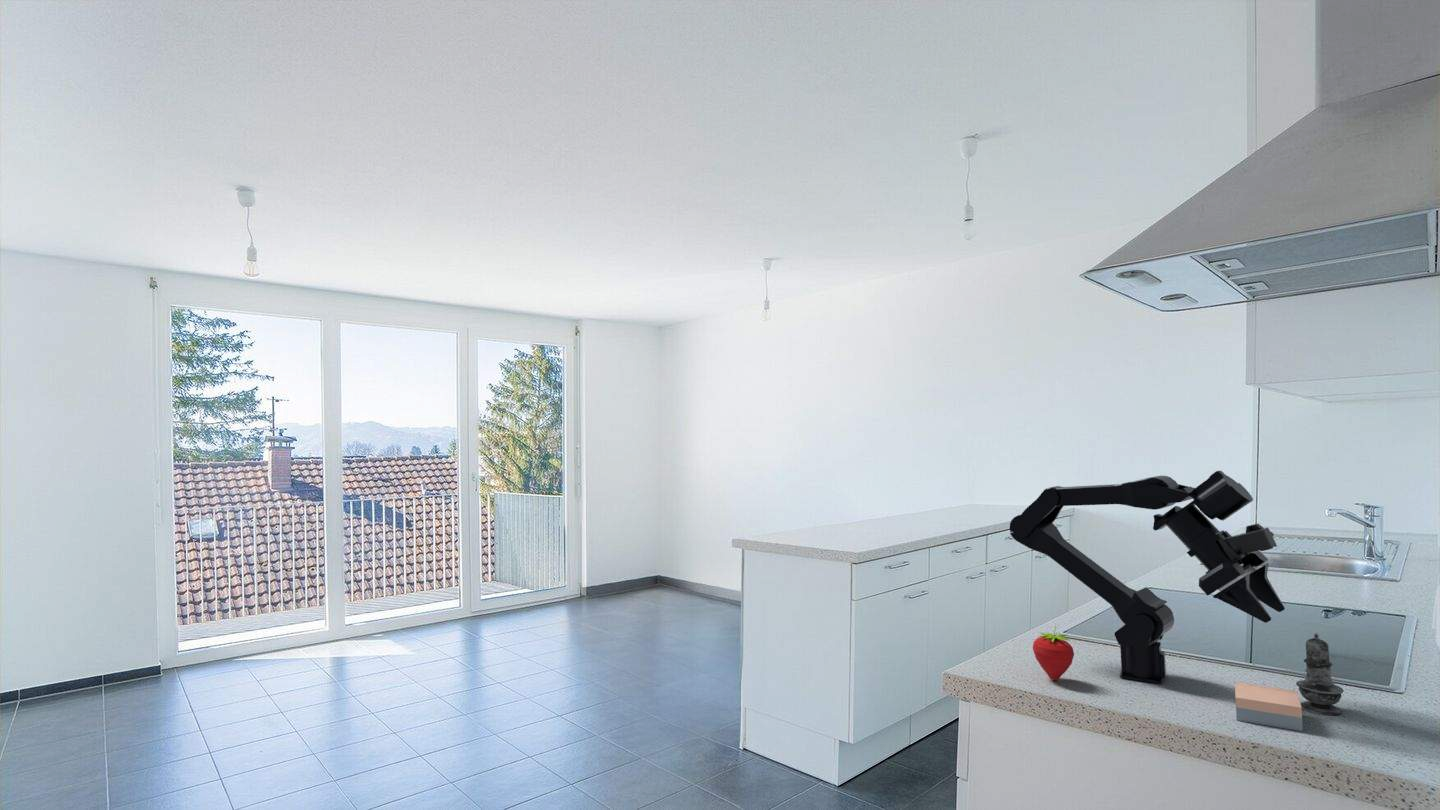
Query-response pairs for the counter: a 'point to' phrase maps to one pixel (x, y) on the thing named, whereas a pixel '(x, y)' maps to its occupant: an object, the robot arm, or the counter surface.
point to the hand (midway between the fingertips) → (1275, 615)
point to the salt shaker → (1319, 680)
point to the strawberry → (1053, 654)
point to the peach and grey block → (1268, 706)
